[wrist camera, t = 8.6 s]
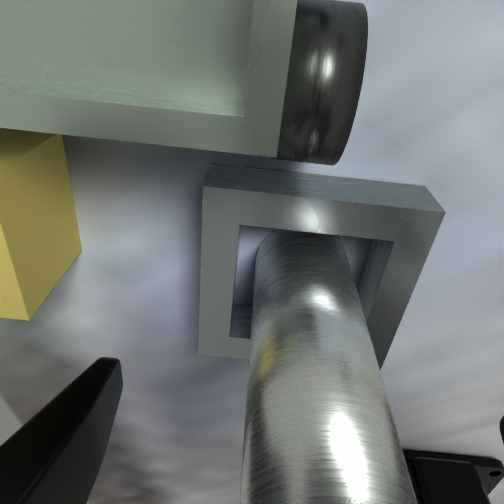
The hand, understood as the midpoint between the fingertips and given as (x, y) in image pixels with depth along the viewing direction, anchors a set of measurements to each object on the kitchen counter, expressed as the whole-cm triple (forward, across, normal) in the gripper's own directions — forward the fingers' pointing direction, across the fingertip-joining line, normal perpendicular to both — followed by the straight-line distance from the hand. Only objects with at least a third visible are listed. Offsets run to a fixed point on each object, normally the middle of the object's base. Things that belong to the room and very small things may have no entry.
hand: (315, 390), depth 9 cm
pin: (+5, 0, 0) cm, 5 cm away
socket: (+5, 0, 0) cm, 5 cm away
